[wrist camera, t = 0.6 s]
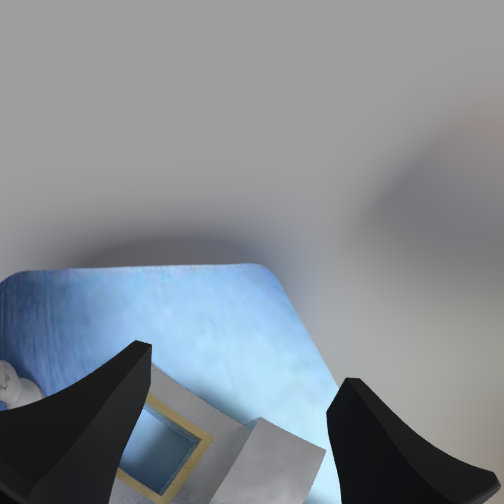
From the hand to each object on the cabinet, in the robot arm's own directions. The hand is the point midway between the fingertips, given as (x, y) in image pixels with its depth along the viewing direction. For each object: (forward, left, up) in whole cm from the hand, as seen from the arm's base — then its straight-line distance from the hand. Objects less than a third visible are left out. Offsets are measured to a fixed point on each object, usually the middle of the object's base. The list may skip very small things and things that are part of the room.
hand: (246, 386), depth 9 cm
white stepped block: (-2, -3, -19) cm, 19 cm away
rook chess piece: (-7, +13, -19) cm, 24 cm away
